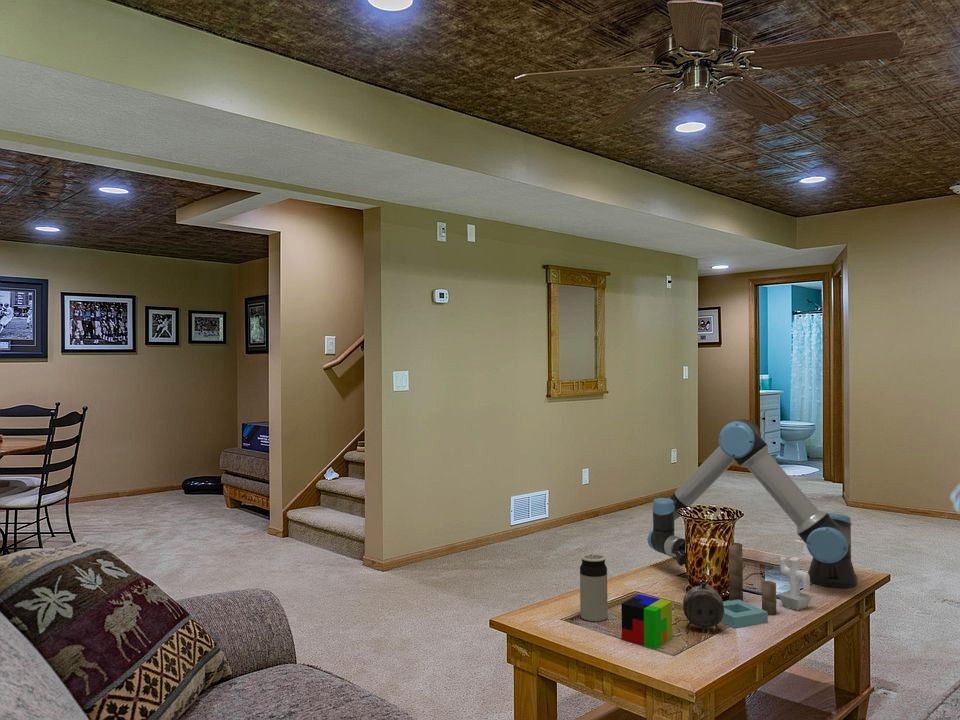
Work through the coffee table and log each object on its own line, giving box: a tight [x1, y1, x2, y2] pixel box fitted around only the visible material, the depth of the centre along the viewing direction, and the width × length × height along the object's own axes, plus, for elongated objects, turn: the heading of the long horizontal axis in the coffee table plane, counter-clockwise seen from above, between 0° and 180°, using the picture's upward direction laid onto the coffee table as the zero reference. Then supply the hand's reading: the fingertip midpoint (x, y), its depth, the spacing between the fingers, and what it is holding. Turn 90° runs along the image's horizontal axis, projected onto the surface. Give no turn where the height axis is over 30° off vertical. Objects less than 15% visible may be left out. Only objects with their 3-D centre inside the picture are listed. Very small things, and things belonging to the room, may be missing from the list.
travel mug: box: [579, 553, 609, 623], centre depth 216 cm, size 8×8×18 cm
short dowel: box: [761, 580, 777, 616], centre depth 218 cm, size 4×4×9 cm
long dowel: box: [728, 542, 744, 601], centre depth 229 cm, size 4×4×18 cm
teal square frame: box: [720, 600, 769, 629], centre depth 214 cm, size 12×12×3 cm
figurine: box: [776, 556, 814, 611], centre depth 223 cm, size 7×9×15 cm
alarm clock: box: [682, 572, 724, 634], centre depth 205 cm, size 11×5×16 cm, turn 74°
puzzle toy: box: [620, 593, 673, 650], centre depth 199 cm, size 10×10×10 cm
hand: (720, 564), depth 235 cm, fingers open, 13 cm apart
